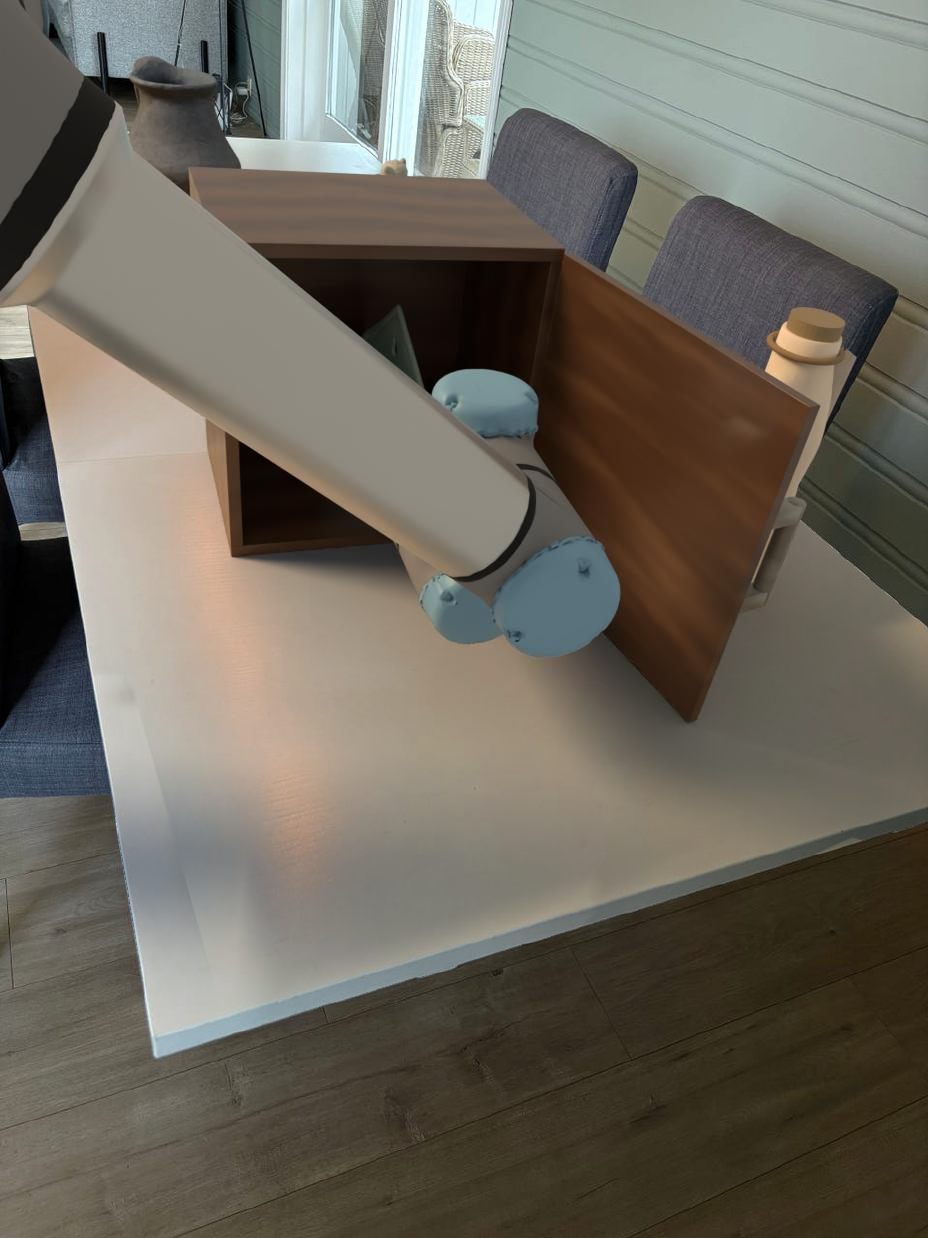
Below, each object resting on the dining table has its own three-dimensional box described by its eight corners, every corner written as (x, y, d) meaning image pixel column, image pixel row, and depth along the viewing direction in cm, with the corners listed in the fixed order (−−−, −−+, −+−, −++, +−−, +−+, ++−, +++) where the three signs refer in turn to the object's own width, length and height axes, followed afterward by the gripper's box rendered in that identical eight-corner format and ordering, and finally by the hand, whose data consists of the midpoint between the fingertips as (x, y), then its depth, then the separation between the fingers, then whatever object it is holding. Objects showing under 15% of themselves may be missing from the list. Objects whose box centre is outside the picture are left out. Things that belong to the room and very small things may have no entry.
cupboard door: (564, 524, 102) (625, 250, 83) (746, 702, 83) (879, 395, 64) (512, 535, 99) (564, 253, 81) (688, 722, 80) (810, 407, 61)
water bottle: (724, 532, 105) (810, 291, 88) (789, 572, 100) (894, 325, 83) (667, 558, 100) (747, 306, 82) (733, 602, 95) (833, 343, 77)
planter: (300, 448, 106) (300, 278, 94) (363, 440, 110) (372, 275, 97) (347, 523, 96) (355, 342, 83) (416, 513, 99) (434, 336, 86)
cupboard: (514, 532, 100) (565, 248, 81) (231, 556, 91) (214, 242, 72) (453, 435, 116) (485, 178, 97) (207, 447, 106) (188, 166, 87)
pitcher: (168, 245, 157) (154, 80, 142) (100, 209, 168) (80, 52, 152) (264, 229, 170) (261, 76, 154) (196, 197, 180) (187, 50, 165)
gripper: (278, 552, 77) (242, 431, 92) (548, 528, 85) (474, 420, 100) (277, 475, 72) (239, 360, 87) (563, 456, 80) (483, 355, 95)
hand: (364, 392), depth 93 cm, fingers open, 13 cm apart
